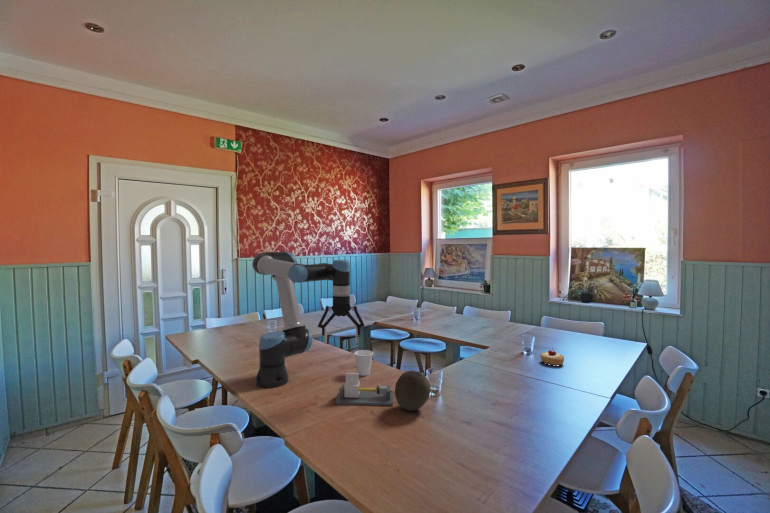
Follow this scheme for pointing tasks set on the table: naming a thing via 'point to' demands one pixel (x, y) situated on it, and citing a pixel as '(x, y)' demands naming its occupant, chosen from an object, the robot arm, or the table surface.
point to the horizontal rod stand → (368, 396)
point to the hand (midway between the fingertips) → (341, 342)
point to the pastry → (552, 358)
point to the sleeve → (352, 385)
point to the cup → (363, 361)
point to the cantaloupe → (412, 390)
